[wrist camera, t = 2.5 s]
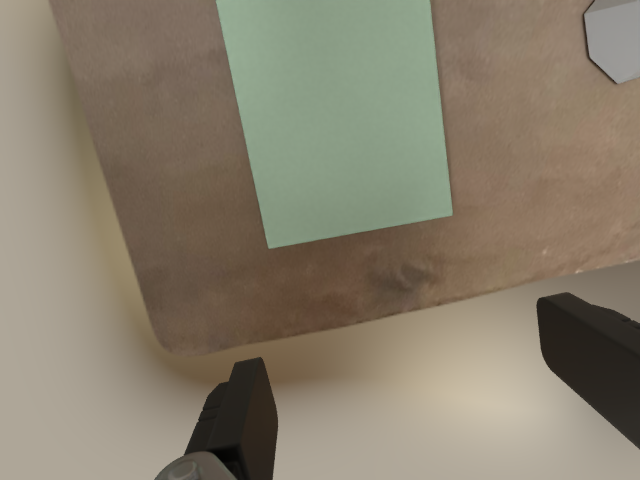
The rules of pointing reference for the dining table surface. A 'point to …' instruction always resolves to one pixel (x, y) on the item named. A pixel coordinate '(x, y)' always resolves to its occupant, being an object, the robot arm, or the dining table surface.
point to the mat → (338, 113)
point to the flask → (615, 37)
